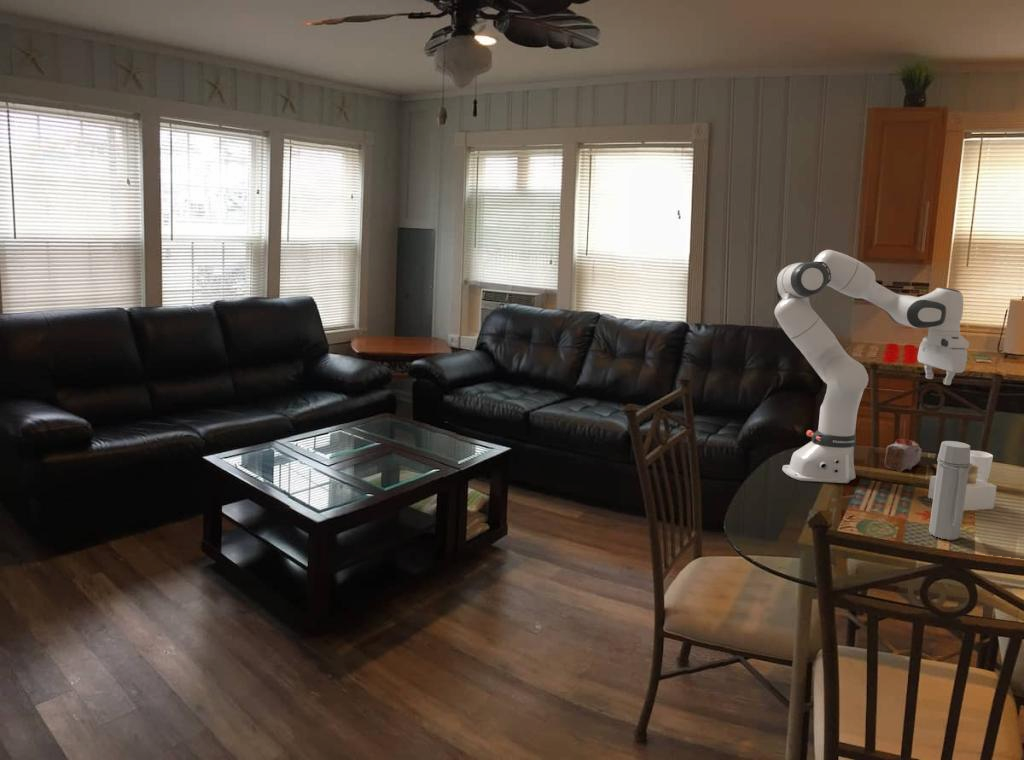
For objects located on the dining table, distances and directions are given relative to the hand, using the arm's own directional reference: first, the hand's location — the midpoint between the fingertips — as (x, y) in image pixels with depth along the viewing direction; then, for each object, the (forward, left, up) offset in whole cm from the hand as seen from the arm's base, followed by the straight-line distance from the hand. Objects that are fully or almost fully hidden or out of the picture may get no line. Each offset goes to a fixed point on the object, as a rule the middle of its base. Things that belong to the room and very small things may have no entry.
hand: (937, 381), depth 254 cm
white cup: (+10, -10, -31) cm, 34 cm away
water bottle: (-27, -53, -31) cm, 67 cm away
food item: (-4, +8, -31) cm, 33 cm away
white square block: (-6, -27, -31) cm, 42 cm away
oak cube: (-6, -27, -24) cm, 37 cm away
